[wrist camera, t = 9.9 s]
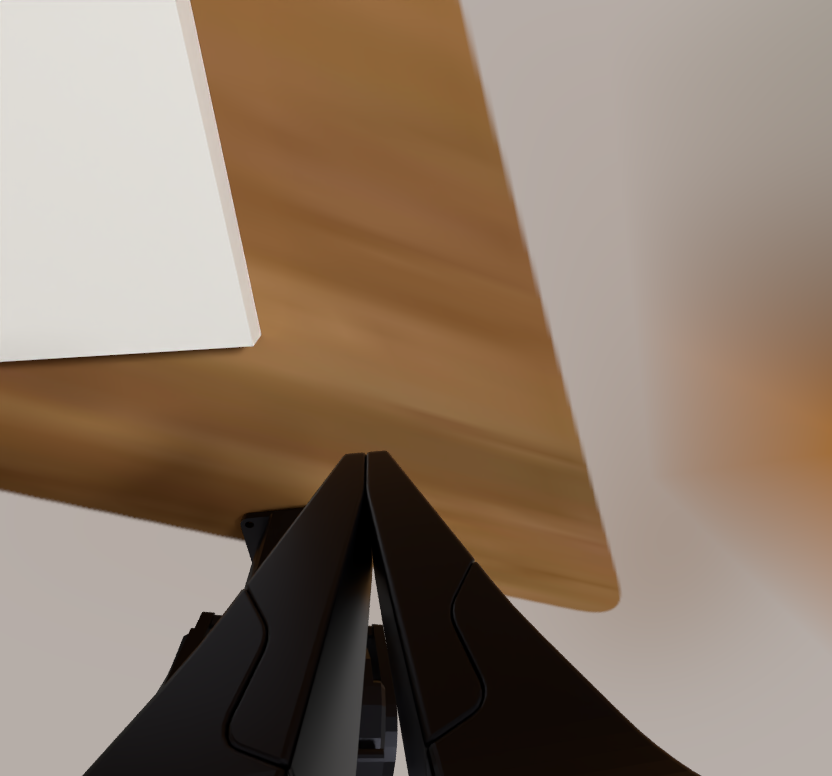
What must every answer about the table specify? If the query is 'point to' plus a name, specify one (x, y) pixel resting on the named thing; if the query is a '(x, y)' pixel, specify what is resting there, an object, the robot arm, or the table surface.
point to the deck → (113, 186)
